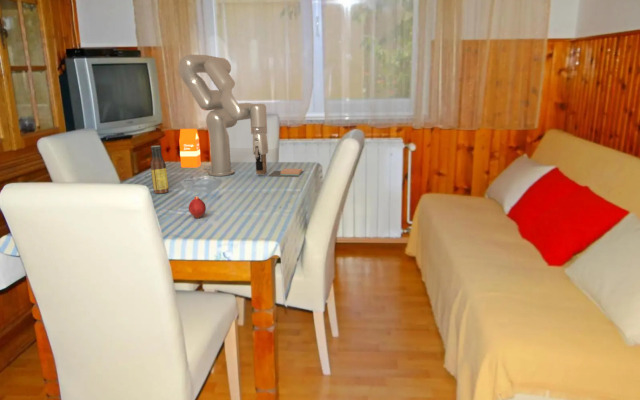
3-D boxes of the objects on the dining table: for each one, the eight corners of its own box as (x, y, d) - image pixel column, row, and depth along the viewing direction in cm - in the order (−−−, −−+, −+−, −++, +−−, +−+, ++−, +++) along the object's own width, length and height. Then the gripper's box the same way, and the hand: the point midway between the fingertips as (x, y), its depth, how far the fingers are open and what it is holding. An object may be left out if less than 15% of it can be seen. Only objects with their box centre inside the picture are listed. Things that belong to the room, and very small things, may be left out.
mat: (267, 178, 247) (267, 176, 246) (274, 172, 260) (274, 170, 260) (298, 178, 244) (298, 177, 244) (304, 172, 258) (304, 171, 257)
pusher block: (256, 174, 246) (255, 153, 244) (258, 172, 250) (257, 151, 247) (264, 174, 245) (263, 153, 243) (266, 172, 249) (265, 152, 247)
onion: (190, 216, 184) (189, 194, 182) (207, 215, 185) (205, 193, 183) (188, 220, 179) (186, 198, 177) (205, 220, 179) (203, 197, 177)
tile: (280, 171, 249) (298, 172, 248) (284, 168, 257) (302, 168, 255) (280, 174, 249) (298, 175, 248) (284, 171, 257) (302, 172, 256)
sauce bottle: (171, 191, 222) (168, 145, 217) (163, 194, 216) (158, 147, 211) (159, 190, 224) (154, 144, 219) (149, 193, 219) (145, 146, 214)
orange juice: (197, 167, 276) (194, 129, 271) (181, 167, 276) (178, 129, 271) (201, 164, 283) (198, 128, 278) (185, 164, 283) (182, 128, 278)
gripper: (261, 132, 234) (263, 172, 238) (271, 128, 250) (273, 165, 254) (246, 132, 235) (248, 172, 240) (256, 128, 251) (258, 165, 256)
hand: (260, 168), depth 247 cm, fingers closed on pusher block, 4 cm apart
